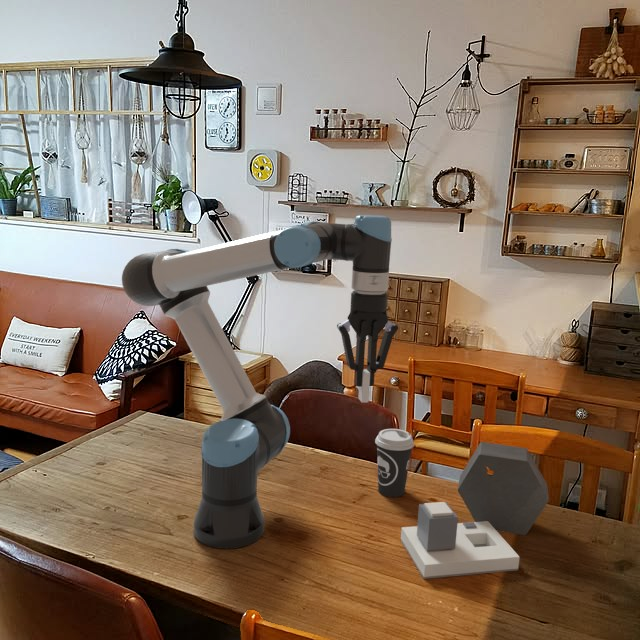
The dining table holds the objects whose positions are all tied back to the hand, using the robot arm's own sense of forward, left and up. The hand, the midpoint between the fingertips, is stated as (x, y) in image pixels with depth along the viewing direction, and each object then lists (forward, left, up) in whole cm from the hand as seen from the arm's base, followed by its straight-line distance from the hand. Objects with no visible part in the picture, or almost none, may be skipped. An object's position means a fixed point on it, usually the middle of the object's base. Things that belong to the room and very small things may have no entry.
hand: (363, 400), depth 137 cm
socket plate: (+18, -14, -29) cm, 37 cm away
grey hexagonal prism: (+33, -3, -30) cm, 44 cm away
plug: (+13, -14, -29) cm, 35 cm away
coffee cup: (+13, +15, -30) cm, 36 cm away
